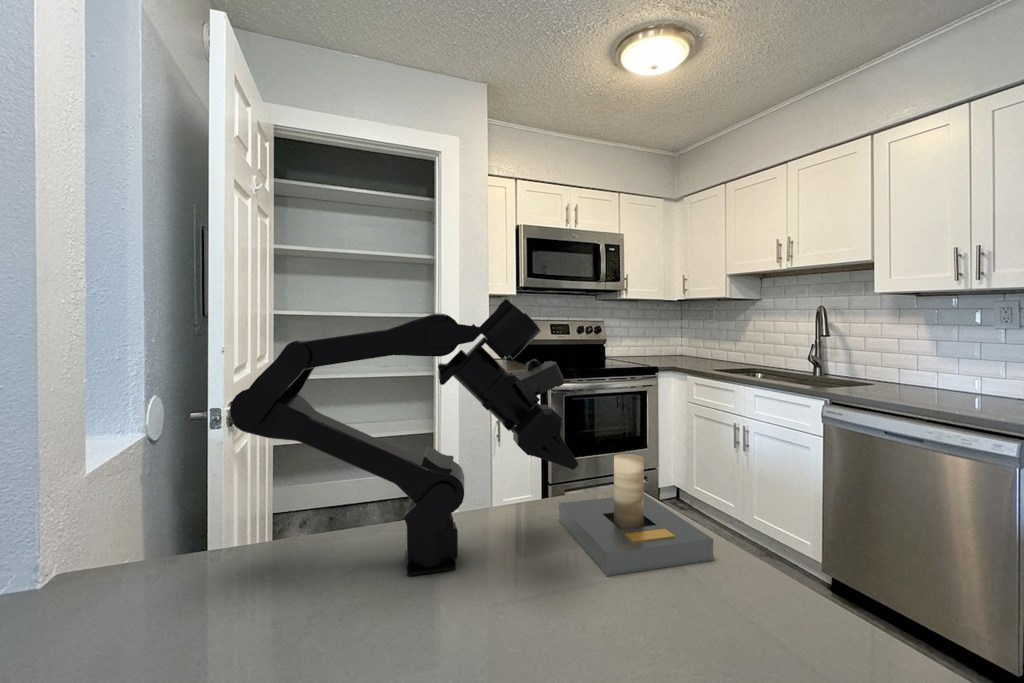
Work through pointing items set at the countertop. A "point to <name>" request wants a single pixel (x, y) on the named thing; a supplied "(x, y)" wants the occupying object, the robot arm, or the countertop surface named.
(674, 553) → the grey peg hole board
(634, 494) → the barrel peg
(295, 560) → the countertop surface
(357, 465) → the robot arm
